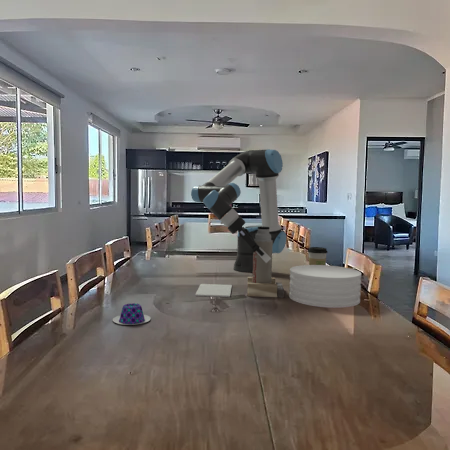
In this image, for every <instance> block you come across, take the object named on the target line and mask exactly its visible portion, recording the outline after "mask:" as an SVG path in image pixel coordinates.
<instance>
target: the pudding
mask: <svg viewBox="0 0 450 450" xmlns="http://www.w3.org/2000/svg"><path fill="white" fill-rule="evenodd" d="M151 318H152V317H151V316H150V315H147V314H145V313H144V311H143V307H142V305H141V304H140V303H135V302H134V303H132V302H131V303H127V304H124V305H122V309H121V312H120V315H117V316H114V317H113V318H112V321H113V322H114V323H116V324H118V325H124V326H132V325H133V326H134V325H135V326H136V325H137V324H138V325H143V324H146V323H147V322H149V321H151Z"/></svg>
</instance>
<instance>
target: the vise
mask: <svg viewBox="0 0 450 450" xmlns="http://www.w3.org/2000/svg"><path fill="white" fill-rule="evenodd" d="M252 280H253V276H247V289H246V291H247V292H246V293H247V296H246V297H259V298H260V297H261V298H262V297H263V298H285V289H284V285H283V283H282V282H277V281H276V277H271V284H268V283H252Z"/></svg>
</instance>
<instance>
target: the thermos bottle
mask: <svg viewBox="0 0 450 450" xmlns="http://www.w3.org/2000/svg"><path fill="white" fill-rule="evenodd" d="M257 227H258V233H257V234H256V235H255V239H254V241H255V242H256V243H257V245H258V246H259V247H261V248H262V249H263V250H264V251H265V253H266V254H267V255H268V256H269V257H270V258H271V259H270V260H269V261H268V262H267V263H266V262H265V261H264V260H263V259H262V258H261V257H260V256H259V255H258V254H257V253H256V252H253V272H252V277H253V280H252V283H268V284H271V278H272V273H273V272H272V269H273V253H272V247H273V240H271V235H270V234H269V229H270V227H264V226H262V225H261V226H257Z"/></svg>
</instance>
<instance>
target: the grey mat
mask: <svg viewBox="0 0 450 450" xmlns="http://www.w3.org/2000/svg"><path fill="white" fill-rule="evenodd" d="M232 286H233V285H232V284H216V283H213V284H211V283H210V284H209V283H200V284H199V286H198V289H197V290H196V292H195V297H215V298H216V297H218V298H221V297H222V298H231V292H232Z"/></svg>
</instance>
